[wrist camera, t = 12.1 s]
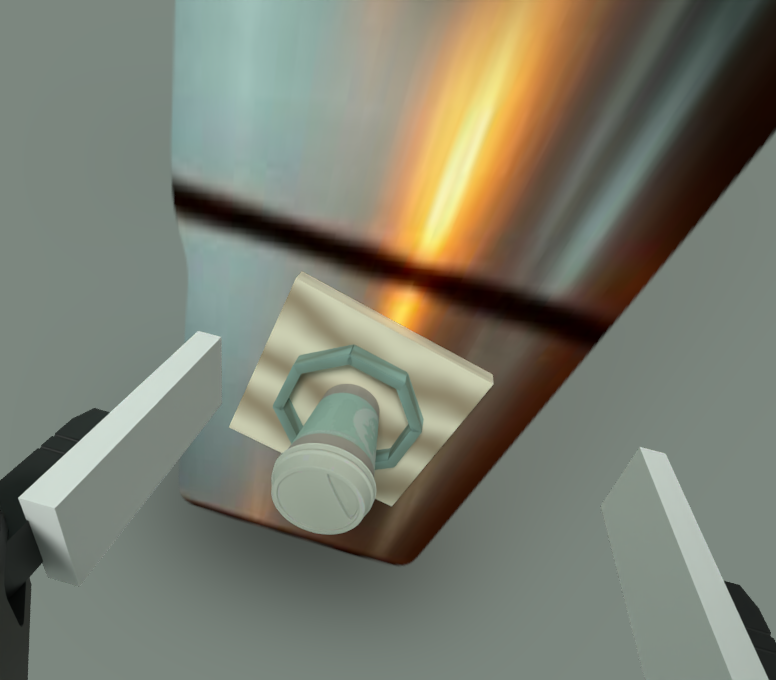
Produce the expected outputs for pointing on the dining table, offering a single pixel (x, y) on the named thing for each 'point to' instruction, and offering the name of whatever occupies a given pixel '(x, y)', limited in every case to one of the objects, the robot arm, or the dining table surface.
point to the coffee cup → (330, 464)
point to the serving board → (358, 381)
